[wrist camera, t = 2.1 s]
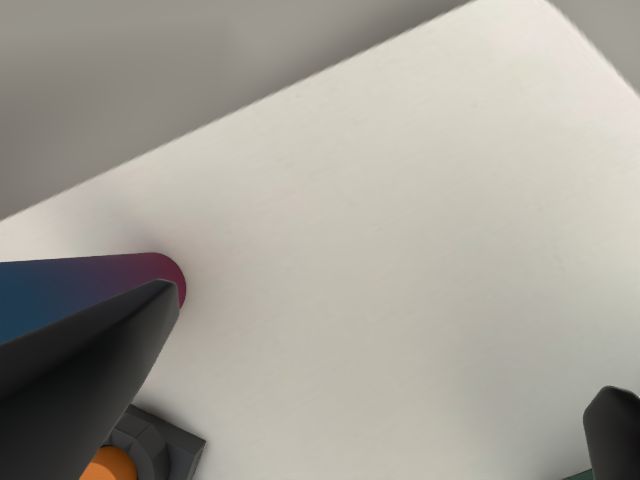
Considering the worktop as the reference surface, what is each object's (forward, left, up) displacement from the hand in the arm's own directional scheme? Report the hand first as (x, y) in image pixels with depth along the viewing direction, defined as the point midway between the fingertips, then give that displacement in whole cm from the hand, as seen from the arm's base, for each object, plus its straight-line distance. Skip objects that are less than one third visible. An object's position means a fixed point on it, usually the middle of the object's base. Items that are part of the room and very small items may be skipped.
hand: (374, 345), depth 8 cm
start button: (-19, +11, -14) cm, 26 cm away
